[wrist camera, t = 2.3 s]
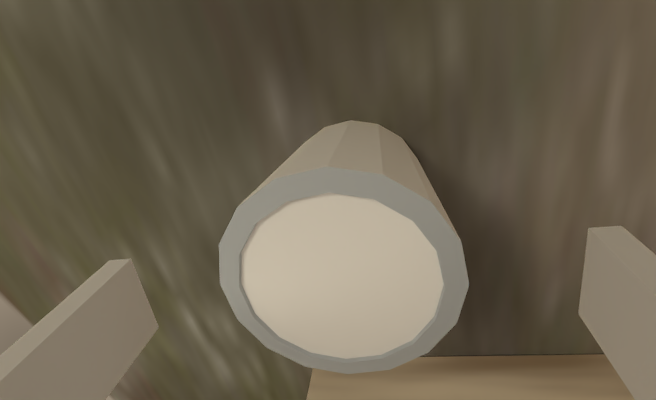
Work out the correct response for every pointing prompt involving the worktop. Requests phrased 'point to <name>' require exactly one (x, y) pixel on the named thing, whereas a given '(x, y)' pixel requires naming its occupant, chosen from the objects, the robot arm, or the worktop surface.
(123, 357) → the robot arm
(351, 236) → the tapered cream cylinder
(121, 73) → the worktop surface
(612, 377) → the birch stand
